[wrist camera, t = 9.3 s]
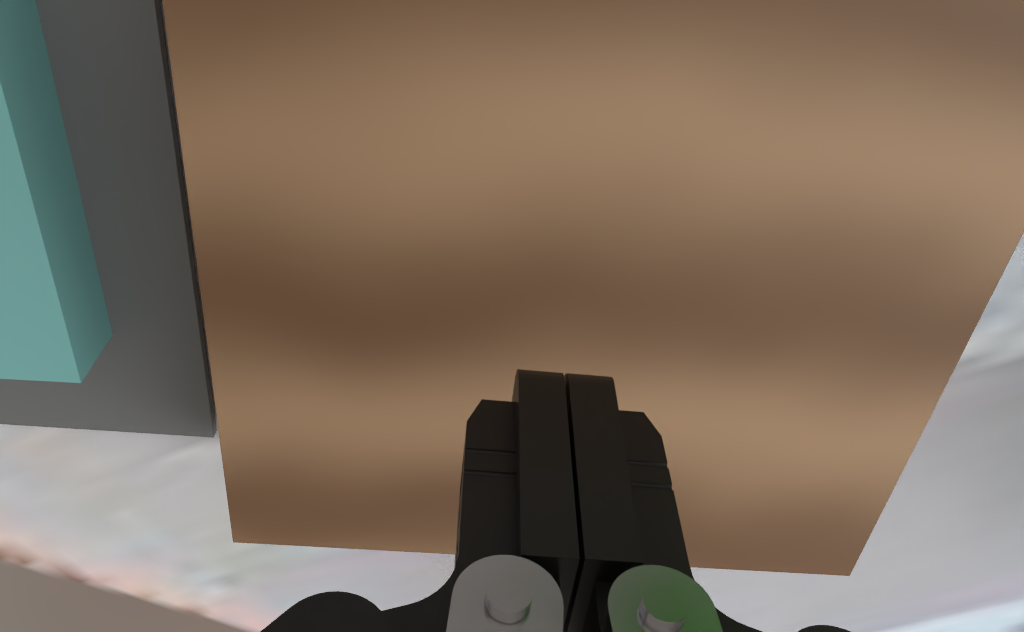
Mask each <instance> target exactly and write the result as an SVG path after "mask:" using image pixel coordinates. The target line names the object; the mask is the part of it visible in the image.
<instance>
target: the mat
mask: <svg viewBox="0 0 1024 632" xmlns="http://www.w3.org/2000/svg"><path fill="white" fill-rule="evenodd" d="M36 5H37V9H38V13H39V18H40V22H41V26H42V31H43V35H44V39H45V44H46V48H47V52H48V57H49V61H50V65H51V70H52V74H53V78H54V83H55V87H56V91H57V96H58V100H59V104H60V109H61V113H62V117H63V122H64V126H65V130H66V135H67V139H68V143H69V148H70V152H71V156H72V161H73V165H74V169H75V174H76V178H77V182H78V187H79V191H80V195H81V200H82V204H83V208H84V213H85V217H86V221H87V226H88V230H89V234H90V239H91V243H92V247H93V252H94V256H95V260H96V265H97V269H98V273H99V278H100V282H101V286H102V291H103V295H104V299H105V304H106V308H107V312H108V317H109V321H110V325H111V330H112V334H113V335H112V337H111V338H110V340H109V341H108V343H107V344H106V346H105V347H104V349H103V350H102V352H101V353H100V355H99V357H98V358H97V360H96V361H95V363H94V364H93V366H92V367H91V369H90V370H89V372H88V373H87V375H86V376H85V378H84V379H83V381H82V383H70V382H52V381H33V380H14V379H0V424H10V425H25V426H41V427H57V428H73V429H89V430H105V431H121V432H137V433H152V434H168V435H184V436H200V437H214V435H215V433H216V431H217V429H216V422H215V414H214V407H213V399H212V392H211V384H210V377H209V369H208V362H207V354H206V346H205V339H204V331H203V324H202V316H201V309H200V301H199V294H198V286H197V279H196V271H195V264H194V256H193V249H192V241H191V233H190V226H189V218H188V211H187V203H186V196H185V188H184V181H183V173H182V166H181V158H180V151H179V143H178V136H177V128H176V120H175V113H174V105H173V98H172V90H171V83H170V75H169V68H168V60H167V53H166V45H165V38H164V30H163V23H162V15H161V7H160V0H36Z"/></svg>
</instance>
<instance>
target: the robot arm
mask: <svg viewBox="0 0 1024 632" xmlns="http://www.w3.org/2000/svg"><path fill="white" fill-rule="evenodd" d="M456 539H457V540H456V554H455V569H454V571H453V573H452V575H451V577H450V578H449V579H448V581H447V582H446V583H445V584H444V585H443V586H442V587H441V588H440V589H439V590H438V591H437V592H435V593H433V594H432V595H430V596H429V597H427V598H425V599H423V600H421V601H418V602H415V603H412V604H409V605H405V606H401V607H396V608H392V609H388V610H384V611H381V610H380V609H378V608H377V607H376V606H375V605H374V604H373V603H372V602H370V601H369V600H367V599H365V598H363V597H361V596H359V595H356V594H352V593H348V592H339V591H338V592H325V593H319V594H316V595H313V596H310V597H307V598H305V599H303V600H301V601H299V602H298V603H296V604H295V605H293V606H292V607H290V608H289V609H288V610H287V611H285V612H284V613H283V614H282V615H280V616H279V617H278V618H277V619H276V620H274V621H273V622H272V623H271V624H269V625H268V626H267V627H266V628H264V629H263V630H262V631H261V632H762V631H759V630H756V629H754V628H751V627H748V626H746V625H743V624H741V623H739V622H736V621H735V620H733V619H731V618H729V617H728V616H726V615H725V614H723V613H722V612H720V611H719V610H718V609H717V608H715V606H714V604H713V602H712V600H711V599H710V597H709V595H708V594H707V593H706V592H705V590H704V589H703V588H702V587H701V586H700V585H699V584H698V583H697V582H696V581H695V580H694V578H693V576H692V572H691V569H690V565H689V560H688V555H687V551H686V546H685V541H684V537H683V532H682V527H681V523H680V518H679V514H678V509H677V504H676V500H675V495H674V490H672V481H671V477H670V472H669V468H667V458H666V453H665V449H664V444H663V439H662V436H661V435H660V433H659V432H658V431H657V429H656V428H655V427H654V425H653V424H652V423H651V421H650V420H649V419H648V417H647V416H646V415H645V413H644V412H636V411H624V410H619V408H618V402H617V396H616V390H615V384H614V380H613V378H612V377H608V376H596V375H584V374H572V373H566V374H565V376H564V374H563V373H558V372H546V371H534V370H522V369H517V371H516V375H515V382H514V389H513V396H512V402H510V401H497V400H485V399H482V400H481V401H480V403H479V404H478V406H477V407H476V408H475V410H474V411H473V413H472V414H471V416H470V417H469V419H468V420H467V424H466V434H465V443H464V453H463V463H462V472H461V482H460V493H459V508H458V523H457V538H456ZM798 632H850V631H847V630H845V629H842V628H838V627H834V626H828V625H815V626H809V627H806V628H804V629H801V630H800V631H798Z"/></svg>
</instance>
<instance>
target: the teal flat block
mask: <svg viewBox="0 0 1024 632" xmlns="http://www.w3.org/2000/svg"><path fill="white" fill-rule="evenodd" d="M112 335H113V334H112V330H111V325H110V321H109V317H108V312H107V308H106V304H105V299H104V295H103V291H102V286H101V282H100V278H99V273H98V269H97V265H96V260H95V256H94V252H93V247H92V243H91V239H90V234H89V230H88V226H87V221H86V217H85V213H84V208H83V204H82V200H81V195H80V191H79V187H78V182H77V178H76V174H75V169H74V165H73V161H72V156H71V152H70V148H69V143H68V139H67V135H66V130H65V126H64V122H63V117H62V113H61V109H60V104H59V100H58V96H57V91H56V87H55V83H54V78H53V74H52V70H51V65H50V61H49V57H48V52H47V48H46V44H45V39H44V35H43V31H42V26H41V22H40V18H39V13H38V9H37V5H36V0H0V379H14V380H33V381H52V382H70V383H82V381H83V379H84V378H85V376H86V375H87V373H88V372H89V370H90V369H91V367H92V366H93V364H94V363H95V361H96V360H97V358H98V357H99V355H100V353H101V352H102V350H103V349H104V347H105V346H106V344H107V343H108V341H109V340H110V338H111V337H112Z"/></svg>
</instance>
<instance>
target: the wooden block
mask: <svg viewBox="0 0 1024 632" xmlns="http://www.w3.org/2000/svg"><path fill="white" fill-rule="evenodd" d="M162 3H163V10H164V18H165V26H166V33H167V41H168V48H169V56H170V64H171V71H172V79H173V87H174V94H175V102H176V110H177V117H178V125H179V132H180V140H181V148H182V155H183V163H184V171H185V178H186V186H187V193H188V201H189V209H190V216H191V224H192V232H193V239H194V247H195V255H196V262H197V270H198V277H199V285H200V293H201V300H202V308H203V316H204V323H205V331H206V339H207V346H208V354H209V361H210V369H211V377H212V384H213V392H214V400H215V407H216V415H217V422H218V430H219V438H220V445H221V453H222V461H223V468H224V476H225V484H226V491H227V499H228V506H229V514H230V522H231V529H232V537H233V542H239V543H258V544H276V545H294V546H313V547H331V548H349V549H368V550H386V551H404V552H423V553H441V554H456V540H457V539H456V538H457V523H458V508H459V493H460V482H461V472H462V463H463V453H464V443H465V434H466V424H467V420H468V419H469V417H470V416H471V414H472V413H473V411H474V410H475V408H476V407H477V406H478V404H479V403H480V401H481V400H482V399H485V400H497V401H510V402H512V396H513V389H514V382H515V375H516V371H517V369H522V370H534V371H546V372H558V373H563V374H564V376H565V374H566V373H572V374H584V375H596V376H608V377H612V378H613V380H614V384H615V390H616V396H617V402H618V408H619V410H624V411H636V412H644V413H645V415H646V416H647V417H648V419H649V420H650V421H651V423H652V424H653V425H654V427H655V428H656V429H657V431H658V432H659V433H660V435H661V436H662V439H663V444H664V449H665V453H666V458H667V468H669V472H670V477H671V481H672V490H674V495H675V500H676V504H677V509H678V514H679V518H680V523H681V527H682V532H683V537H684V541H685V546H686V551H687V555H688V560H689V565H690V567H698V568H716V569H734V570H753V571H771V572H789V573H808V574H826V575H844V576H850V574H851V572H852V570H853V568H854V566H855V564H856V562H857V560H858V558H859V556H860V554H861V552H862V550H863V548H864V546H865V544H866V542H867V540H868V538H869V536H870V534H871V532H872V530H873V528H874V526H875V524H876V523H877V521H878V519H879V517H880V515H881V513H882V511H883V509H884V507H885V505H886V503H887V501H888V499H889V497H890V495H891V493H892V491H893V489H894V487H895V485H896V483H897V481H898V479H899V477H900V475H901V473H902V471H903V469H904V467H905V465H906V463H907V461H908V459H909V457H910V455H911V453H912V451H913V449H914V448H915V446H916V444H917V442H918V440H919V438H920V436H921V434H922V432H923V430H924V428H925V426H926V424H927V422H928V420H929V418H930V416H931V414H932V412H933V410H934V408H935V406H936V404H937V402H938V400H939V398H940V396H941V394H942V392H943V390H944V388H945V386H946V384H947V382H948V380H949V378H950V376H951V374H952V373H953V371H954V369H955V367H956V365H957V363H958V361H959V359H960V357H961V355H962V353H963V351H964V349H965V347H966V345H967V343H968V341H969V339H970V337H971V335H972V333H973V331H974V329H975V327H976V325H977V323H978V321H979V319H980V317H981V315H982V313H983V311H984V309H985V307H986V305H987V303H988V301H989V299H990V298H991V296H992V294H993V292H994V290H995V288H996V286H997V284H998V282H999V280H1000V278H1001V276H1002V274H1003V272H1004V270H1005V268H1006V266H1007V264H1008V262H1009V260H1010V258H1011V256H1012V254H1013V252H1014V250H1015V248H1016V246H1017V244H1018V242H1019V240H1020V238H1021V236H1022V234H1023V232H1024V0H162Z"/></svg>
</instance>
